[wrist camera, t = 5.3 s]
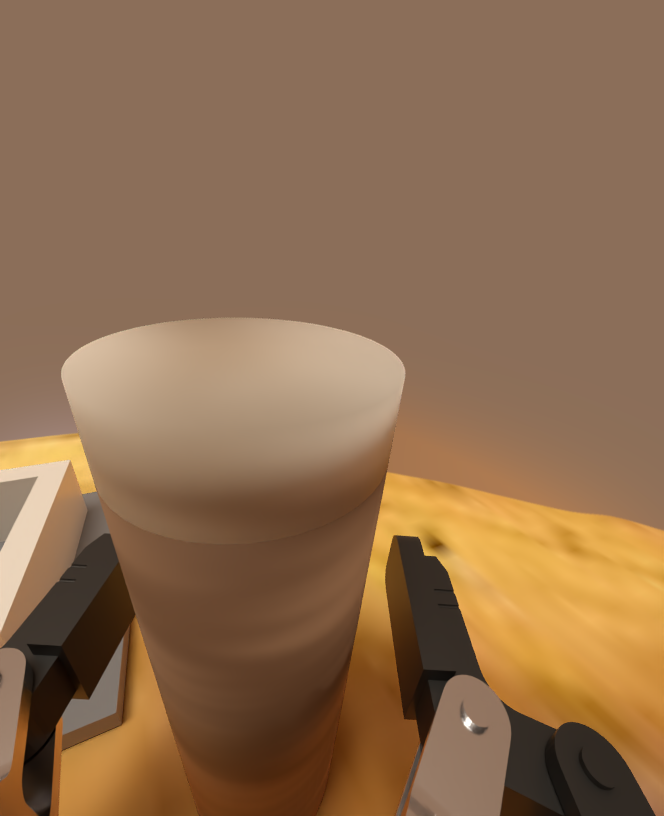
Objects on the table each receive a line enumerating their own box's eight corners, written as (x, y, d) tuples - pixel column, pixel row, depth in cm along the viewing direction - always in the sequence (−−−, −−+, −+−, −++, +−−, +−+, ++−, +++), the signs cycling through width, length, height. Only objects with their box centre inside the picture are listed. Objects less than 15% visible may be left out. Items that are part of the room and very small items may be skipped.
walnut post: (304, 658, 16) (329, 316, 8) (352, 806, 12) (479, 397, 4) (190, 709, 14) (96, 319, 6) (201, 908, 10) (-16, 471, 2)
